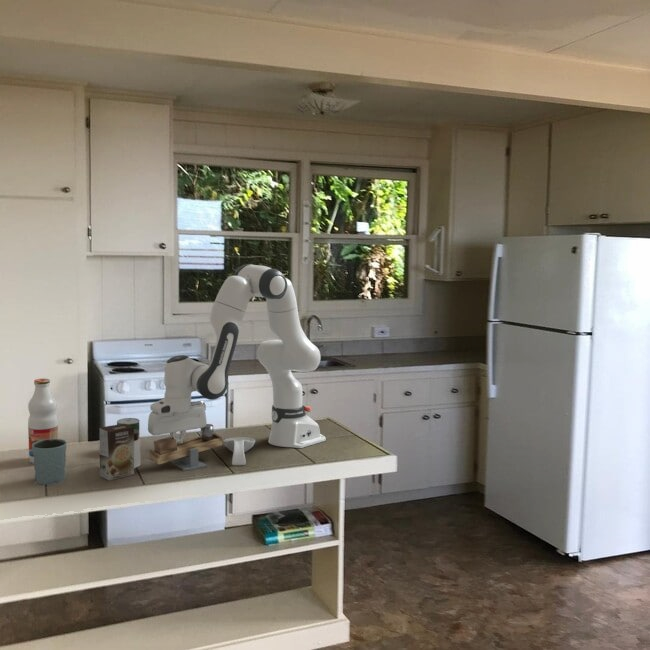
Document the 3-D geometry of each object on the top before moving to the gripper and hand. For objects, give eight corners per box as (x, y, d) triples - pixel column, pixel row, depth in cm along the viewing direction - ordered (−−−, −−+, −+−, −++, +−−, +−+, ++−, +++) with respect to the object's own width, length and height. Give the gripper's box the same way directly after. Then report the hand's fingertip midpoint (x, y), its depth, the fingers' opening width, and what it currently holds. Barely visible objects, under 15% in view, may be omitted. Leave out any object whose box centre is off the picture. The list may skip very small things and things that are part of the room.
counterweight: (210, 436, 250) (209, 423, 249) (216, 439, 247) (215, 426, 246) (199, 439, 248) (198, 426, 247) (205, 443, 244) (204, 429, 243)
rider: (171, 447, 242) (170, 436, 241) (177, 451, 238) (176, 440, 237) (155, 452, 238) (153, 441, 238) (160, 456, 235) (159, 444, 234)
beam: (211, 439, 253) (210, 430, 253) (223, 445, 246) (223, 437, 246) (148, 457, 239) (147, 449, 239) (159, 465, 232) (158, 456, 232)
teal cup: (64, 473, 230) (64, 437, 229) (69, 482, 222) (68, 445, 220) (31, 477, 226) (30, 440, 224) (34, 487, 217) (33, 449, 215)
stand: (187, 455, 251) (187, 438, 250) (206, 466, 240) (206, 448, 239) (166, 459, 246) (166, 441, 245) (184, 470, 235) (184, 452, 234)
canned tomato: (137, 453, 252) (137, 423, 250) (114, 453, 251) (114, 423, 250) (141, 447, 260) (141, 418, 258) (119, 447, 259) (119, 417, 258)
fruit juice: (64, 460, 243) (62, 379, 240) (37, 466, 236) (35, 384, 232) (49, 454, 249) (47, 375, 246) (23, 460, 242) (21, 379, 238)
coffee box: (109, 481, 224) (108, 431, 222) (99, 476, 228) (98, 427, 226) (135, 474, 231) (134, 426, 229) (124, 469, 235) (124, 422, 233)
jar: (125, 460, 244) (125, 426, 243) (144, 464, 241) (144, 429, 240) (107, 468, 236) (107, 433, 235) (127, 471, 233) (127, 436, 231)
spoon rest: (223, 445, 265) (223, 427, 264) (254, 445, 266) (255, 426, 265) (222, 466, 241) (222, 446, 240) (256, 466, 243) (257, 445, 242)
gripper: (201, 398, 247) (201, 436, 249) (145, 405, 235) (146, 446, 237) (209, 401, 242) (209, 441, 244) (153, 409, 230) (153, 451, 232)
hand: (177, 443), depth 240 cm, fingers closed
